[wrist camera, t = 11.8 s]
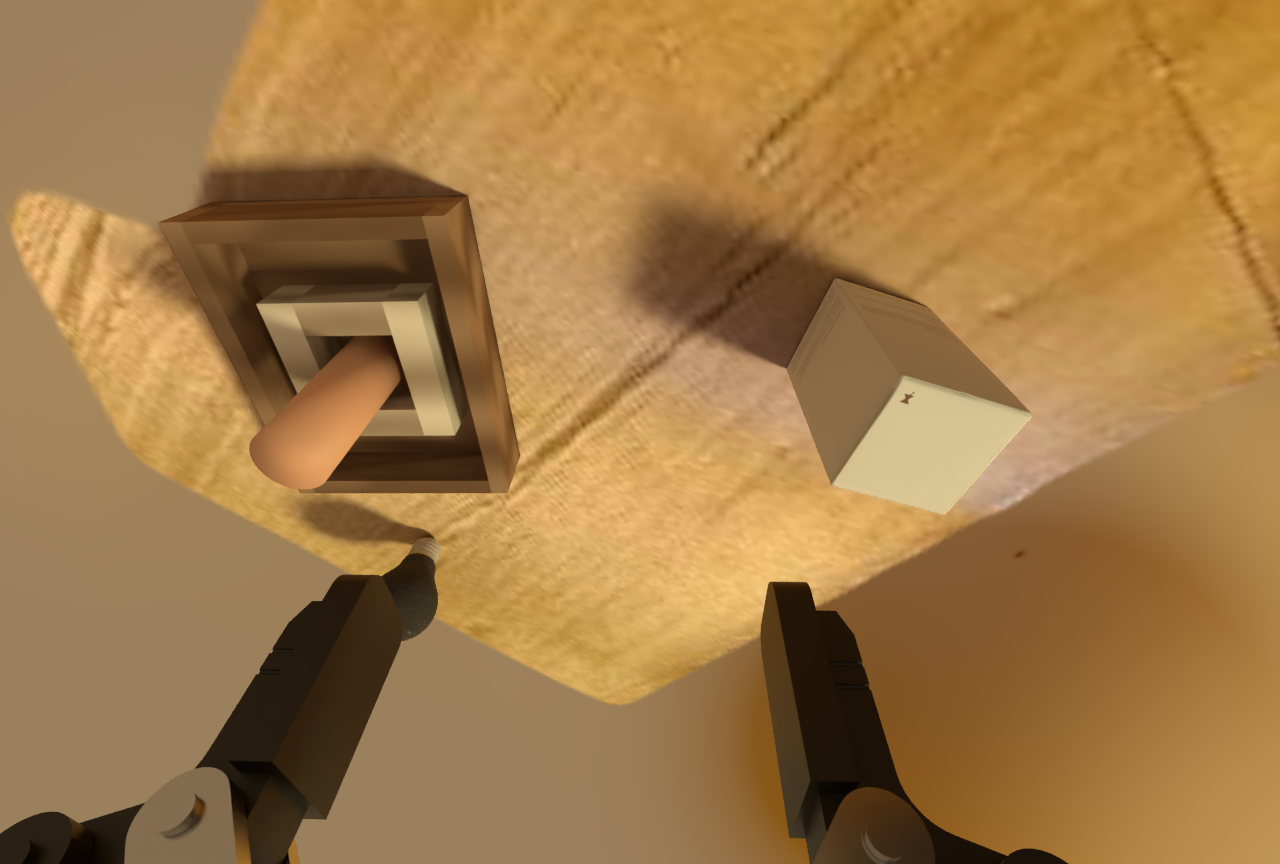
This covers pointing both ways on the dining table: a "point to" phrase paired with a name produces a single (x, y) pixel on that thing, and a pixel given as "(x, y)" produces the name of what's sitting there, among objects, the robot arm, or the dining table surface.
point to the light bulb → (415, 587)
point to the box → (362, 326)
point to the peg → (328, 414)
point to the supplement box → (898, 400)
